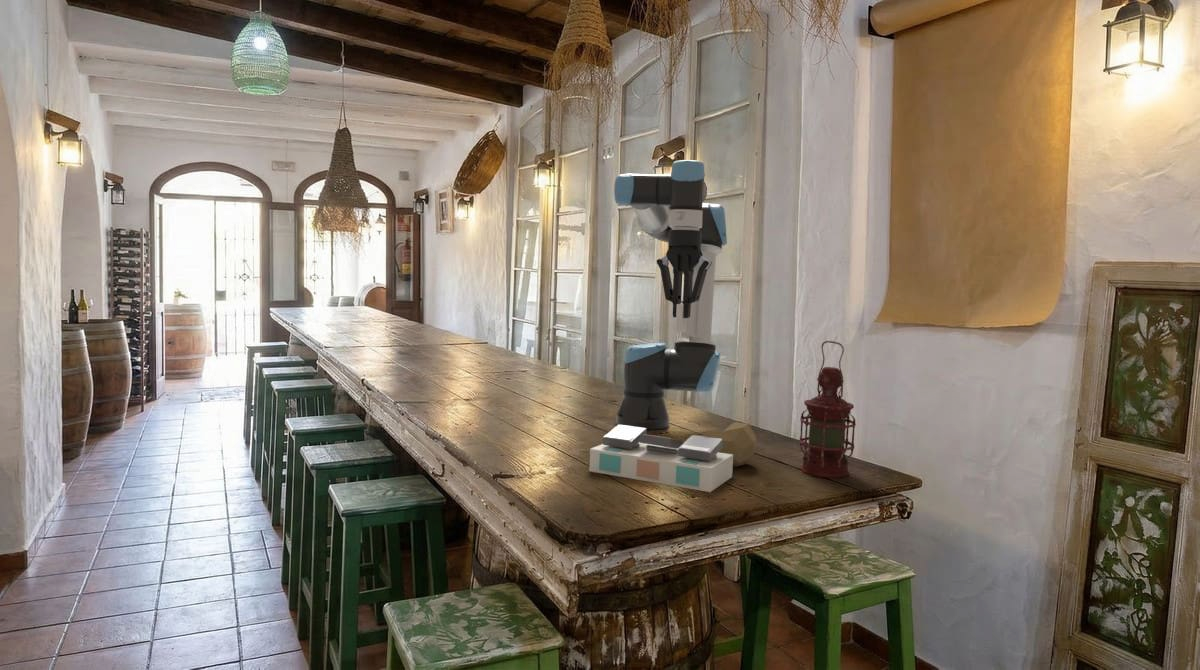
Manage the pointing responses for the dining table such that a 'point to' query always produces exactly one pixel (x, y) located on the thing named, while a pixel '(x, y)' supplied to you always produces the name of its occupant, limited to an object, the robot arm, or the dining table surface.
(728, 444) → the low-poly potato
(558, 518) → the dining table surface
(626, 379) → the robot arm
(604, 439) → the rocker
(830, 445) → the lantern
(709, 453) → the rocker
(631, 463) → the console
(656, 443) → the rocker middle
